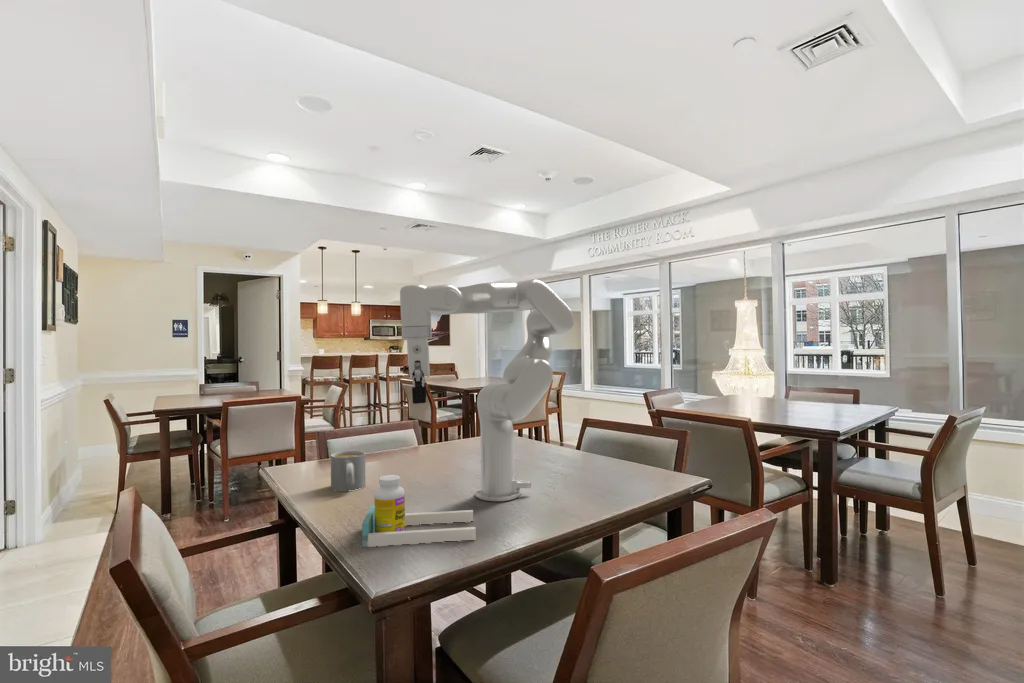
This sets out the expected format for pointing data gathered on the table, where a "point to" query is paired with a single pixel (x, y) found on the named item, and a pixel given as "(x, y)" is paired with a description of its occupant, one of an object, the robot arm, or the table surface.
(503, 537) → the table surface
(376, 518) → the supplement bottle
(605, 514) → the table surface
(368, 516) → the guide track
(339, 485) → the coffee mug
